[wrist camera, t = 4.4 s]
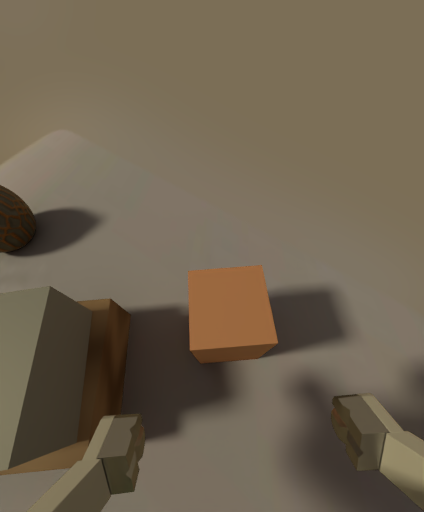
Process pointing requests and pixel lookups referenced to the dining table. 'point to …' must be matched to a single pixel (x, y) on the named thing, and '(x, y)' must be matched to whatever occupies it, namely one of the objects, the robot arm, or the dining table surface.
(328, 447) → the dining table surface
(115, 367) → the tower base block
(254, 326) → the terracotta block
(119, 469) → the robot arm
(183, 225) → the dining table surface
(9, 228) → the vase
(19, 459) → the tower top block
